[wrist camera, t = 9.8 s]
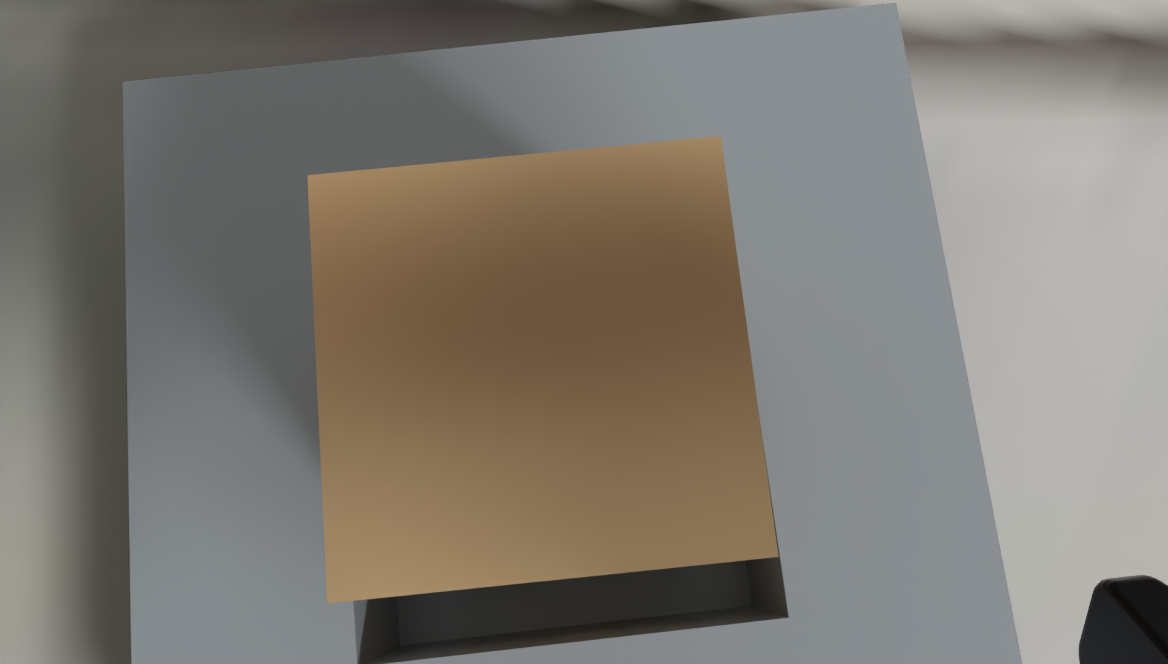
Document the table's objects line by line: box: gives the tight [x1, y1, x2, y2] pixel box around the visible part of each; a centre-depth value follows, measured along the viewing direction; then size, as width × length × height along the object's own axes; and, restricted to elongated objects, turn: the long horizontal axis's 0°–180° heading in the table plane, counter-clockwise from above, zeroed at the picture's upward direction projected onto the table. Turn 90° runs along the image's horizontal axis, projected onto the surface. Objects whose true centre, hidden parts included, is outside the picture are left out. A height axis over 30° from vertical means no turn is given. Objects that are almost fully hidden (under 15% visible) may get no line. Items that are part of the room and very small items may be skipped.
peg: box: [307, 136, 779, 603], centre depth 15 cm, size 4×4×9 cm
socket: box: [122, 3, 1022, 664], centre depth 18 cm, size 13×13×4 cm
